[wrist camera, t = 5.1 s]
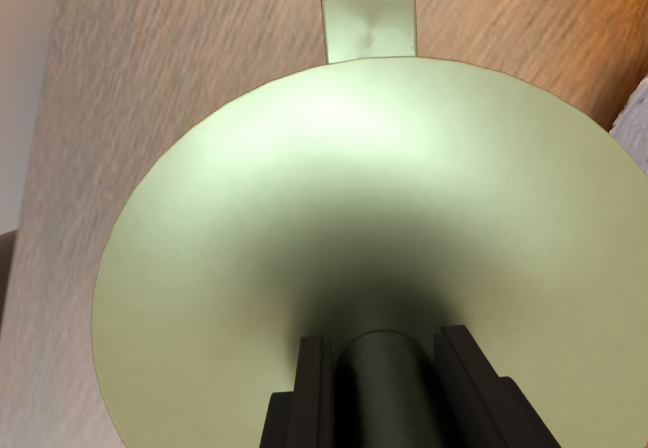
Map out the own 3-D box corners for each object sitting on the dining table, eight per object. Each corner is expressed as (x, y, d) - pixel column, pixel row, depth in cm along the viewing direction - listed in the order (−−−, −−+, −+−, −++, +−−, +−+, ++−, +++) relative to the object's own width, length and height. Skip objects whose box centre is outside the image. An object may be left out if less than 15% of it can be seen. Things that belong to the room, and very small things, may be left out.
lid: (175, 549, 13) (48, 896, 7) (48, 99, 9) (-480, 56, 3) (617, 526, 13) (875, 890, 7) (693, 29, 8) (1558, -195, 2)
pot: (262, 397, 23) (214, 576, 14) (204, 59, 18) (65, -4, 9) (496, 384, 22) (606, 565, 13) (508, 24, 17) (705, -87, 8)
